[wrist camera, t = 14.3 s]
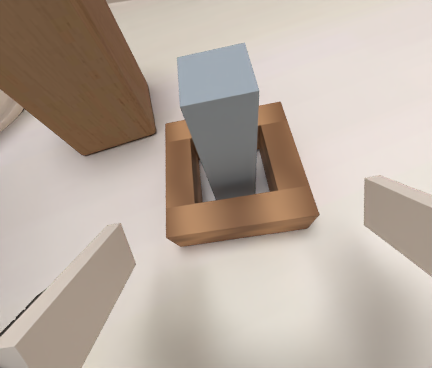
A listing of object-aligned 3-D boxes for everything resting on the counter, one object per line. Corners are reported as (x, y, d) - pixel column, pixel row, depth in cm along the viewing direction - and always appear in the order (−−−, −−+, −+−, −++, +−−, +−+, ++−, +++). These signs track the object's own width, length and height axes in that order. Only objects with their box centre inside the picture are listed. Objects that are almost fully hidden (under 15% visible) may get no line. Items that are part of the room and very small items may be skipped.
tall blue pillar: (216, 201, 22) (180, 106, 11) (212, 168, 24) (177, 57, 13) (254, 194, 22) (259, 90, 11) (247, 162, 24) (244, 42, 12)
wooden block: (148, 84, 32) (23, -168, 15) (157, 134, 28) (-10, -145, 10) (84, 104, 32) (-118, -122, 15) (82, 157, 28) (-215, -78, 10)
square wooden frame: (180, 246, 21) (166, 237, 17) (176, 146, 26) (165, 123, 23) (307, 228, 20) (319, 214, 16) (276, 128, 25) (280, 101, 22)
